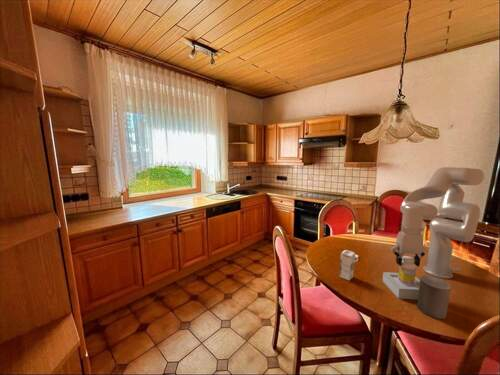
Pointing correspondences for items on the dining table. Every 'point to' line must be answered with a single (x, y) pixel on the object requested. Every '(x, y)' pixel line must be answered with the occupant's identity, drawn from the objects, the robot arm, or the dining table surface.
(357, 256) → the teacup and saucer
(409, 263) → the supplement bottle
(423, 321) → the dining table surface
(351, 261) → the syrup box
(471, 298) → the dining table surface
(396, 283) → the gray square tray
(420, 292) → the pillar candle
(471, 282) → the dining table surface
